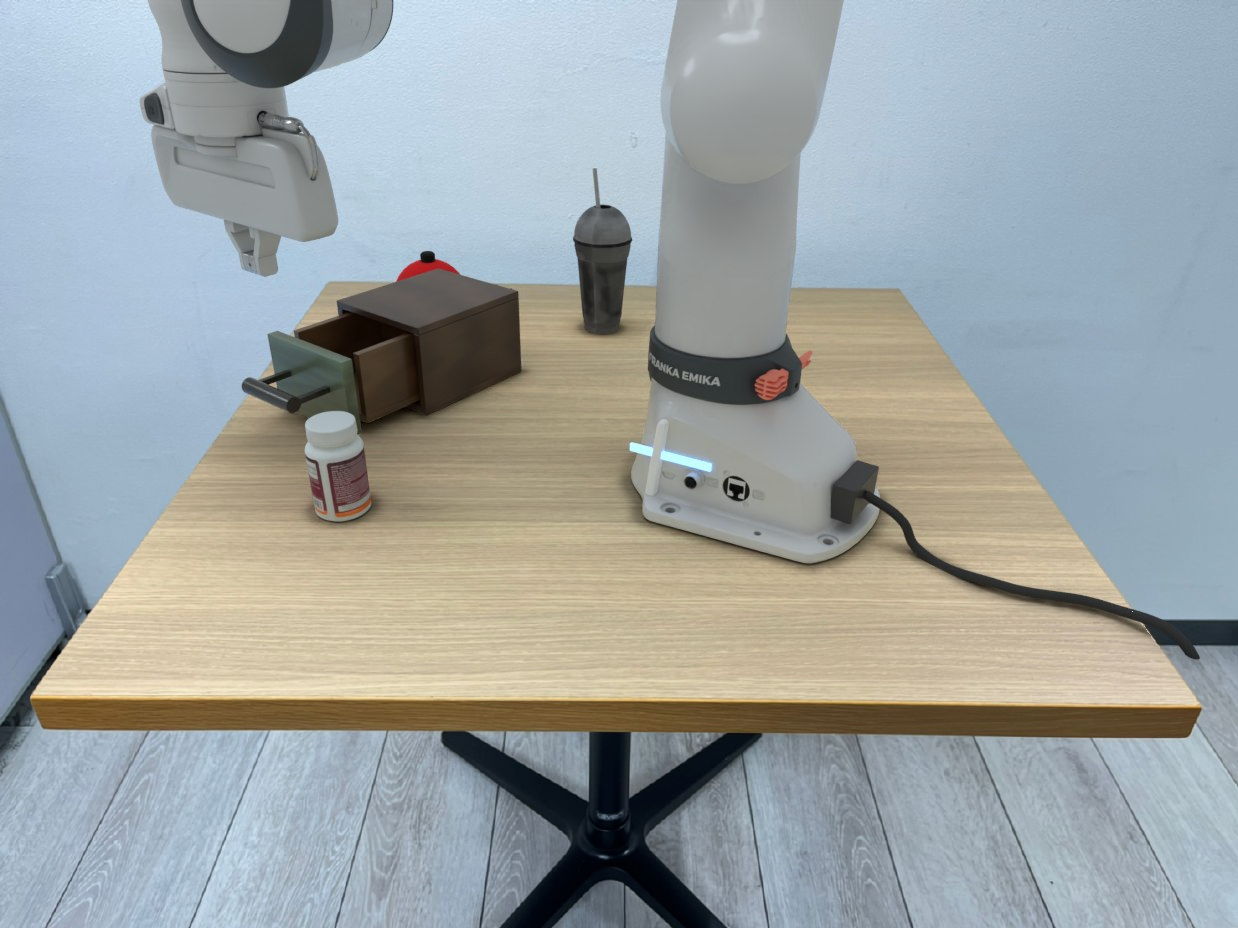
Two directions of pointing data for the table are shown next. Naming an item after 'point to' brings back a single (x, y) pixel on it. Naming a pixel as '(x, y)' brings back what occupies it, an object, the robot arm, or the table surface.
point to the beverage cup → (602, 264)
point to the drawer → (341, 369)
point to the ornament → (425, 266)
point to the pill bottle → (337, 466)
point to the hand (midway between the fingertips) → (260, 272)
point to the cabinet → (449, 331)
